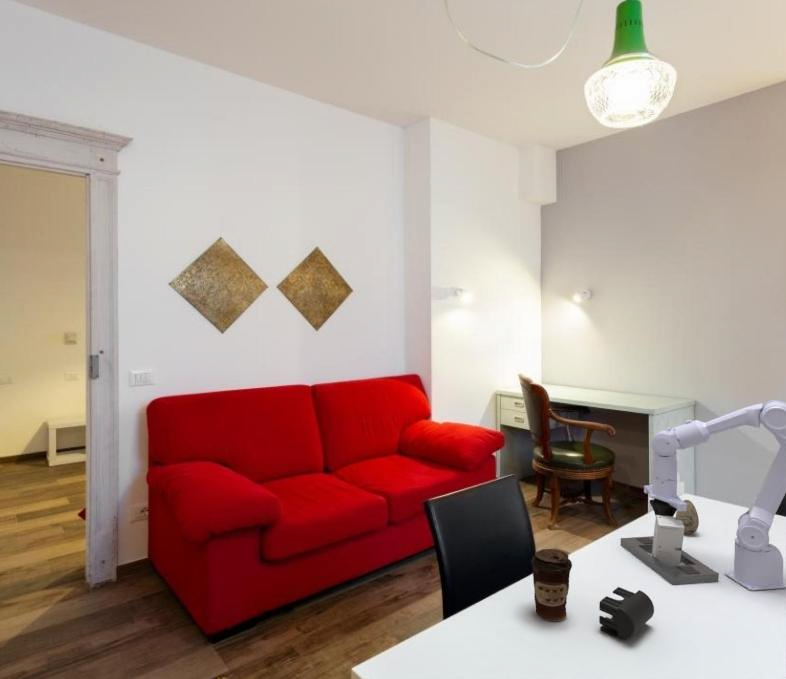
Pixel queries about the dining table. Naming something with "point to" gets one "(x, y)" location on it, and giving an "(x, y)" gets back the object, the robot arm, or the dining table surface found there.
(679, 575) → the plate
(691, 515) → the decorative egg
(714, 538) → the dining table surface
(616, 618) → the end cap
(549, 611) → the coffee cup
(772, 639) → the dining table surface
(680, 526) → the skincare box
